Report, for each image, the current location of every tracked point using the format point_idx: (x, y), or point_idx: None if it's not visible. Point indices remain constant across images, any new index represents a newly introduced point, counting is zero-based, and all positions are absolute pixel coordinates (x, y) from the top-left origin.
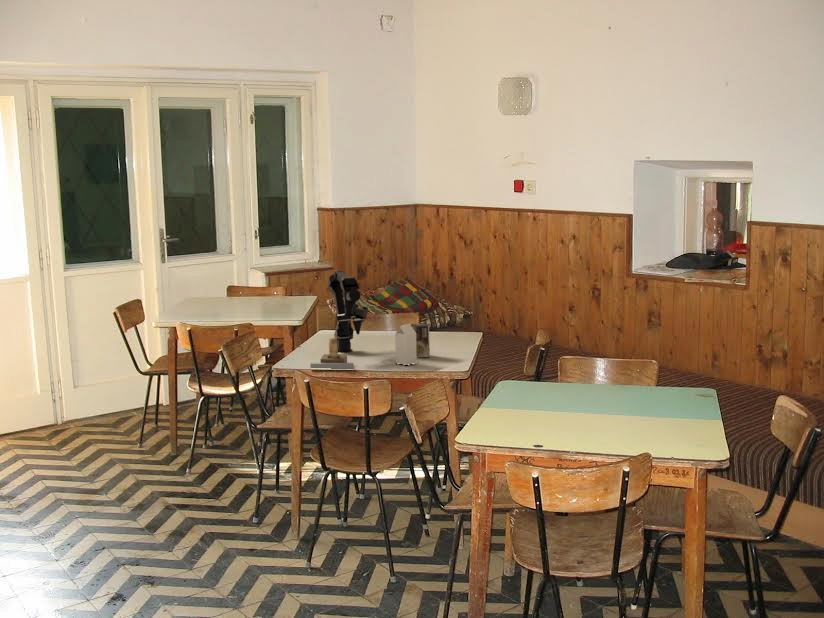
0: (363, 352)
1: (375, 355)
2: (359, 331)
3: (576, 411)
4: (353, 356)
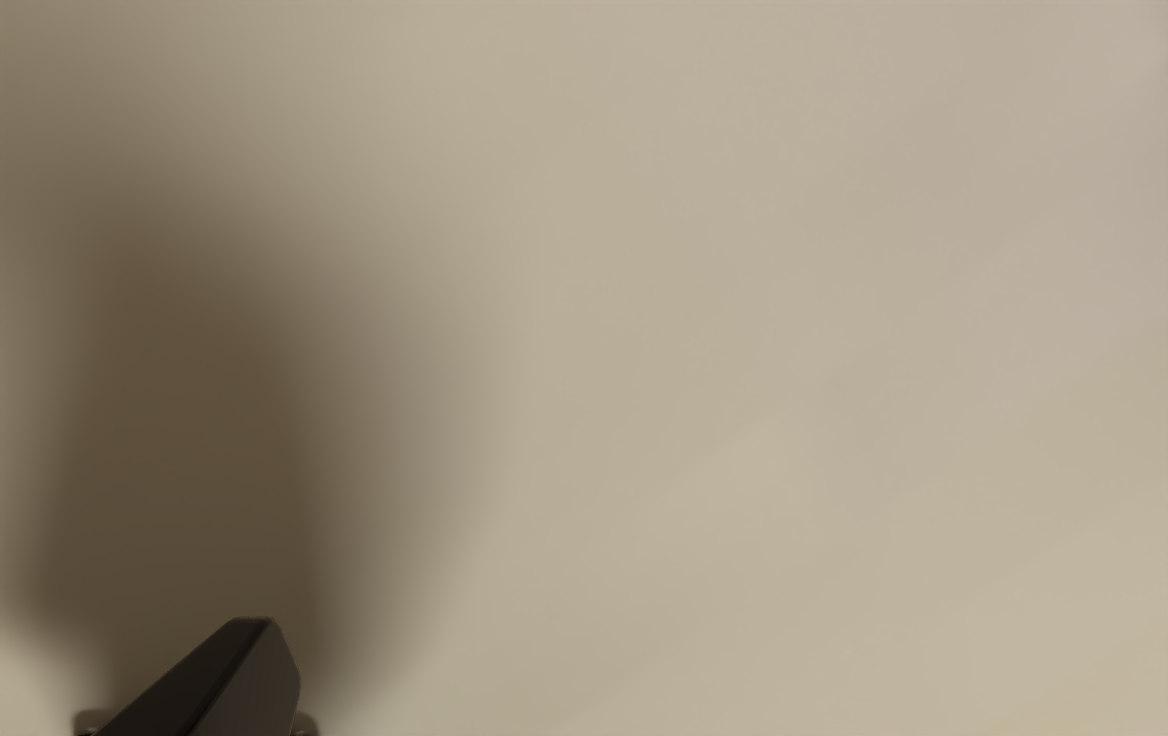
0: (21, 490)
1: (30, 68)
2: (146, 714)
3: None
4: (435, 433)
